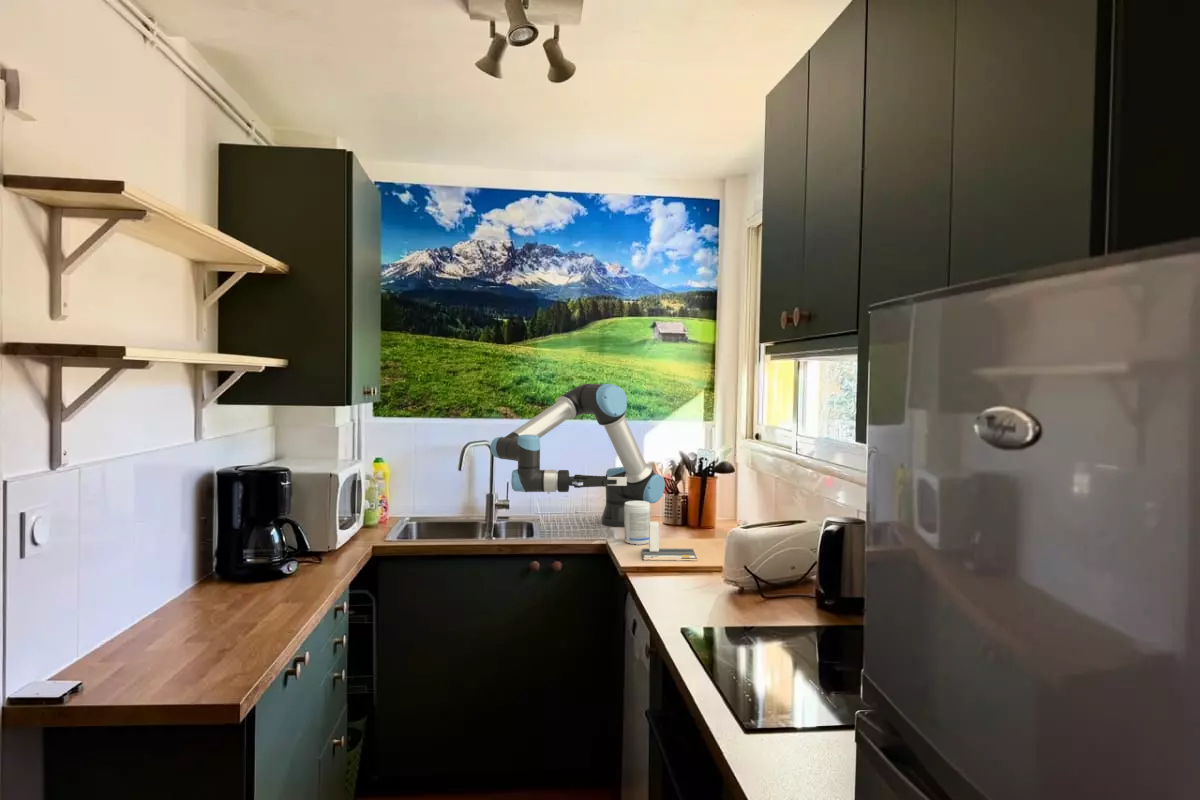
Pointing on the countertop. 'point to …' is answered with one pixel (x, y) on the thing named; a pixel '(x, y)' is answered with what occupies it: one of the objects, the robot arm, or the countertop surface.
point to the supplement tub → (637, 522)
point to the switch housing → (670, 553)
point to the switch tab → (653, 537)
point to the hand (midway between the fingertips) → (626, 481)
